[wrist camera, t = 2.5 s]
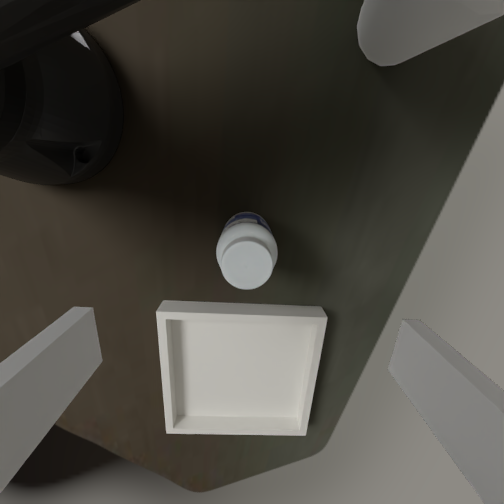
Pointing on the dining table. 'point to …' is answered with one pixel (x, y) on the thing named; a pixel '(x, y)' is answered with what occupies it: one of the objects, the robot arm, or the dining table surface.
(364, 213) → the dining table surface
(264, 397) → the tray
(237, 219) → the pill bottle
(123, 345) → the dining table surface
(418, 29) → the foam cup
